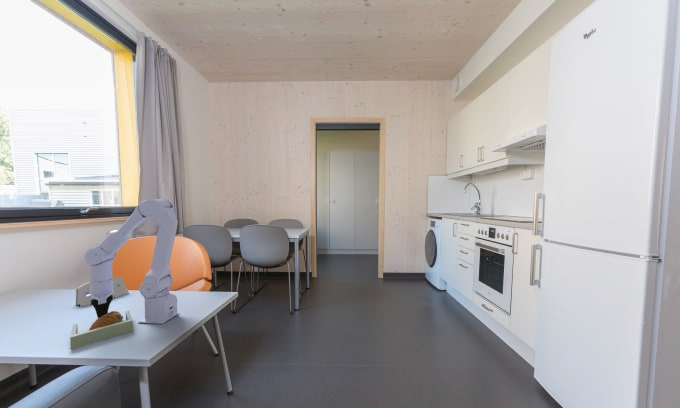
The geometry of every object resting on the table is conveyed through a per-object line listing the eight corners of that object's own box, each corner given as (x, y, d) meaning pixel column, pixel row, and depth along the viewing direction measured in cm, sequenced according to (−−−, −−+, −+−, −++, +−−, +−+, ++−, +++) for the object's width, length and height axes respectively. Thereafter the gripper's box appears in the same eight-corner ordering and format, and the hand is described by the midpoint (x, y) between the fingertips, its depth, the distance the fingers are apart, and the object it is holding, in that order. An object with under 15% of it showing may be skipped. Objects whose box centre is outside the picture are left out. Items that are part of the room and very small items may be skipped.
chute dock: (73, 333, 80) (72, 323, 80) (129, 318, 90) (129, 309, 90) (70, 349, 71) (70, 337, 71) (133, 330, 81) (132, 320, 81)
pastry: (106, 333, 80) (106, 321, 80) (81, 336, 78) (81, 324, 78) (124, 319, 89) (124, 309, 89) (103, 321, 88) (102, 311, 87)
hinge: (79, 307, 99) (75, 283, 101) (75, 309, 101) (71, 285, 103) (129, 293, 114) (125, 272, 116) (125, 295, 116) (121, 274, 118)
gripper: (86, 278, 89) (86, 314, 90) (84, 288, 79) (85, 329, 79) (112, 274, 94) (113, 308, 95) (114, 282, 84) (115, 321, 84)
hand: (102, 317), depth 87 cm, fingers closed
